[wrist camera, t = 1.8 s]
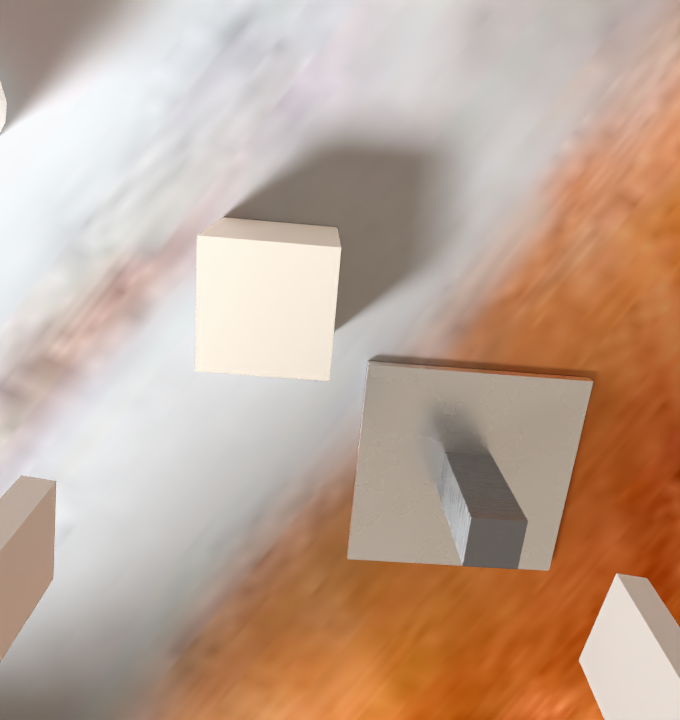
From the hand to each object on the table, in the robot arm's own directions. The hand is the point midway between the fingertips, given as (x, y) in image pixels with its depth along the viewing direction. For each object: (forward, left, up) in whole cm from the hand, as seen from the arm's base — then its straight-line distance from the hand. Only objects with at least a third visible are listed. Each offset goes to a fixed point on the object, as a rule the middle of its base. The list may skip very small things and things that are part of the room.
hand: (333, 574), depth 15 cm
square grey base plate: (+8, -7, -19) cm, 22 cm away
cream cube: (-3, +3, -19) cm, 19 cm away
